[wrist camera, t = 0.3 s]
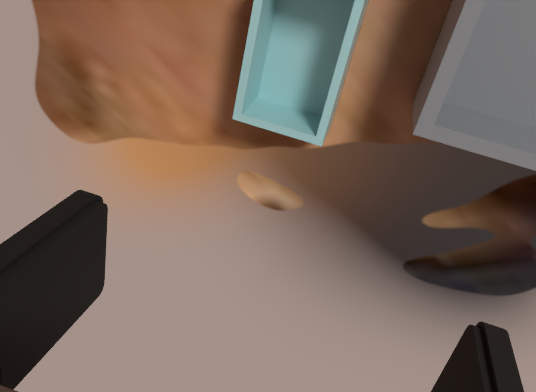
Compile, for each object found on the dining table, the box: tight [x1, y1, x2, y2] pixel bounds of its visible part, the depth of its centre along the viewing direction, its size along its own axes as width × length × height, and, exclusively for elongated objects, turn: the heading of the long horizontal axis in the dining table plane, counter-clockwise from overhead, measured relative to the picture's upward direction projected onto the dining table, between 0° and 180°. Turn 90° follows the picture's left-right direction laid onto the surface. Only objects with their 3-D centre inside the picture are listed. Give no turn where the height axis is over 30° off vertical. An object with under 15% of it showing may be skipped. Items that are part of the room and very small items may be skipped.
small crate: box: [232, 0, 369, 146], centre depth 35 cm, size 11×7×5 cm, turn 168°
